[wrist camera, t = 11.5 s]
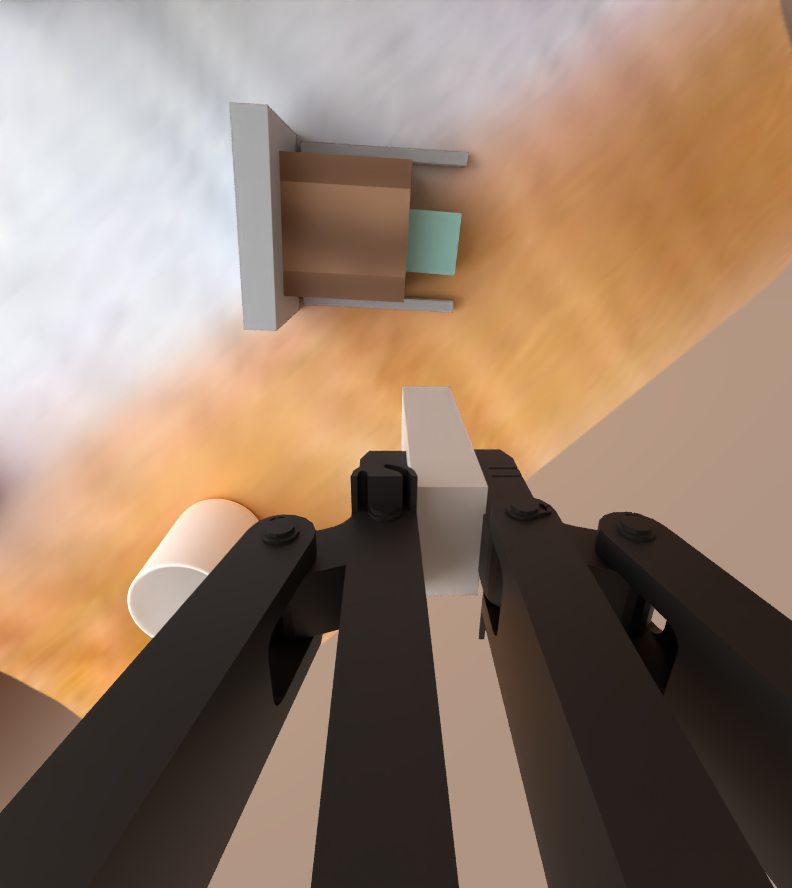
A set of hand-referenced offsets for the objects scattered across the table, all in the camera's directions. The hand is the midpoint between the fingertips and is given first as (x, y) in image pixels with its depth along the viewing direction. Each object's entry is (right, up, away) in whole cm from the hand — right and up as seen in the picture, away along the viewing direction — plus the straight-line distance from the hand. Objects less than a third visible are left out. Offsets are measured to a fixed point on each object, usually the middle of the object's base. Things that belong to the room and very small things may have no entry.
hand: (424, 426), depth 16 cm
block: (-4, +15, +21) cm, 27 cm away
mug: (-16, -10, +32) cm, 37 cm away
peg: (-2, +15, +22) cm, 26 cm away
